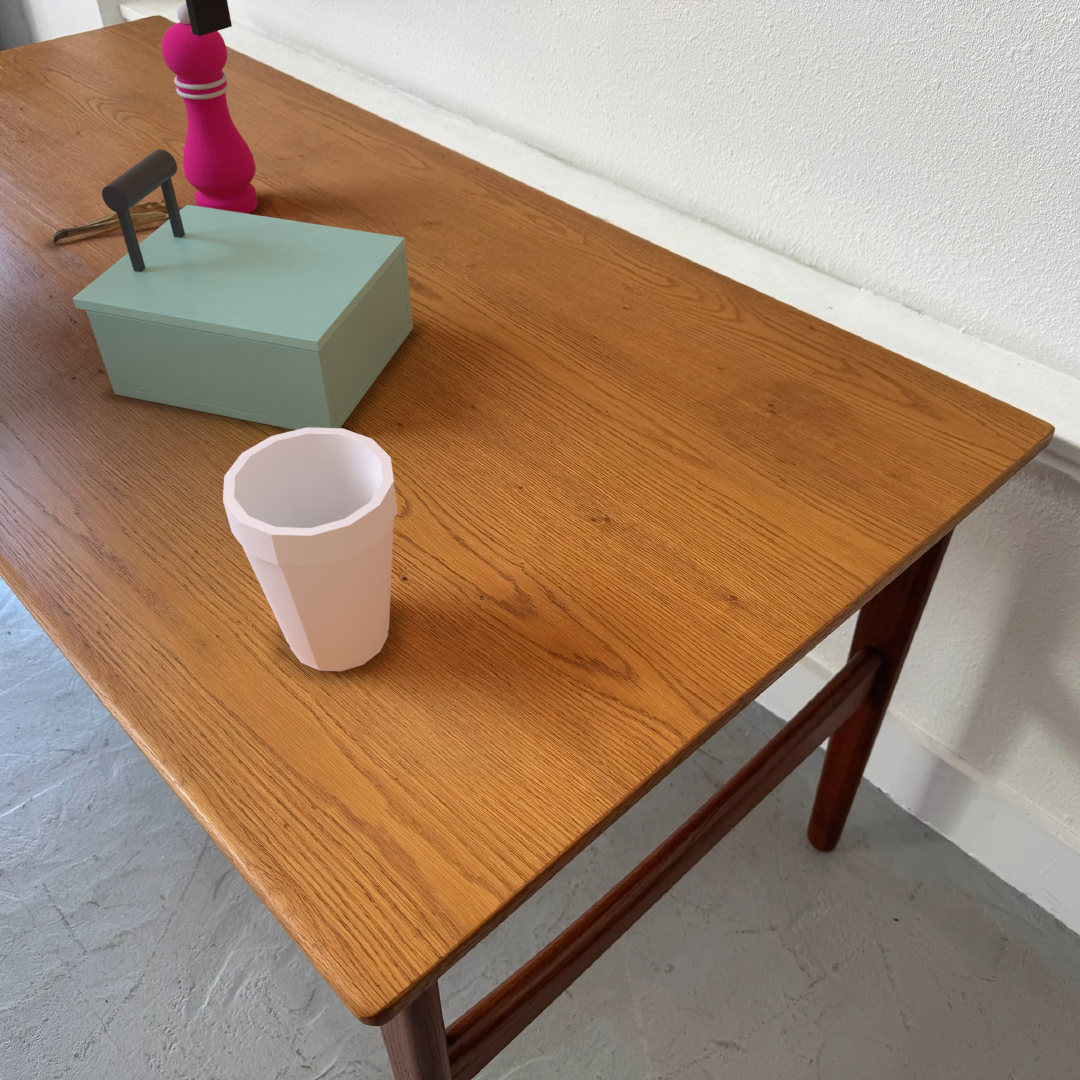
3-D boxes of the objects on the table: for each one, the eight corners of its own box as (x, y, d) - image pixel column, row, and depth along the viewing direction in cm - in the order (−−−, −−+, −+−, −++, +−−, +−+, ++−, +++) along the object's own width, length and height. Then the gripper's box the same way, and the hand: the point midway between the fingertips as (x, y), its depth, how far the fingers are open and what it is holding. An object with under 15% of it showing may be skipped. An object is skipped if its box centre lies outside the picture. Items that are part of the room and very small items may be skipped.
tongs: (50, 239, 105) (44, 221, 103) (173, 211, 111) (170, 193, 109) (63, 256, 102) (57, 237, 101) (188, 226, 108) (185, 207, 107)
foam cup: (421, 584, 69) (404, 429, 60) (403, 693, 63) (381, 537, 54) (281, 580, 70) (244, 425, 61) (248, 688, 63) (201, 532, 54)
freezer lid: (75, 308, 80) (41, 209, 74) (189, 213, 92) (167, 122, 86) (319, 352, 76) (302, 250, 70) (405, 247, 87) (397, 153, 82)
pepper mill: (245, 186, 114) (205, -12, 100) (274, 210, 110) (237, 7, 96) (182, 203, 111) (133, 1, 97) (210, 229, 106) (162, 22, 93)
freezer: (114, 394, 85) (85, 310, 80) (217, 295, 97) (198, 215, 91) (333, 438, 81) (319, 352, 76) (413, 328, 93) (405, 247, 87)
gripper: (251, -390, 55) (310, 34, 69) (2, -400, 66) (97, -34, 81) (130, -388, 51) (220, 63, 65) (-114, -399, 62) (9, -13, 77)
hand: (152, 10), depth 73 cm, fingers open, 13 cm apart
